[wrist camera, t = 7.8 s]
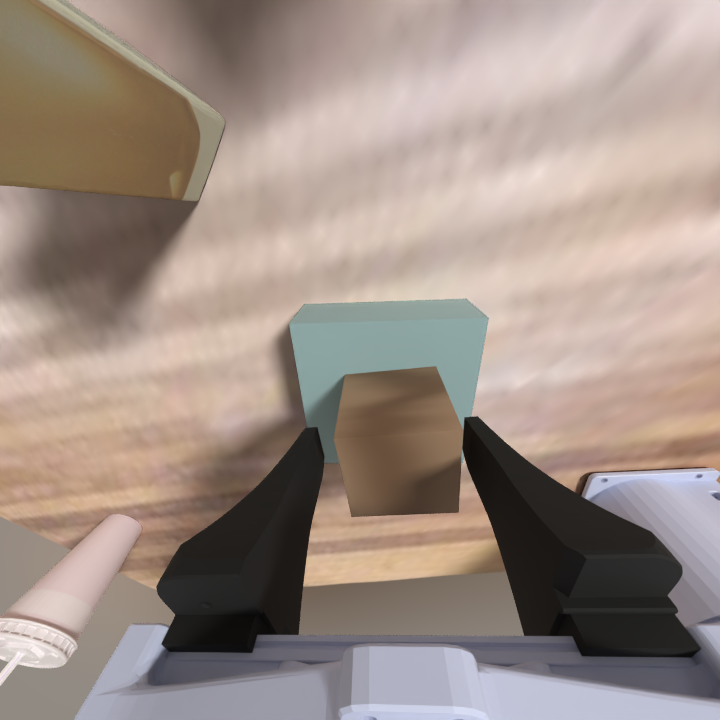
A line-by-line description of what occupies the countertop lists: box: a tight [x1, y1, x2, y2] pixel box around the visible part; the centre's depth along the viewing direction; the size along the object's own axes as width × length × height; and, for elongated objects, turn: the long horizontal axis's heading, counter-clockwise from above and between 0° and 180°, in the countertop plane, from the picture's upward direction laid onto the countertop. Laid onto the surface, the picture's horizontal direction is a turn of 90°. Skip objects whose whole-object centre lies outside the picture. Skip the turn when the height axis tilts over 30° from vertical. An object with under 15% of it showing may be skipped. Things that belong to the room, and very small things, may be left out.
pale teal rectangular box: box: [289, 299, 489, 463], centre depth 18 cm, size 10×10×4 cm
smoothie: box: [0, 514, 142, 686], centre depth 23 cm, size 6×6×14 cm
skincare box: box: [0, 0, 225, 201], centre depth 8 cm, size 6×4×12 cm
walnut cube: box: [334, 366, 463, 517], centre depth 14 cm, size 5×5×5 cm
